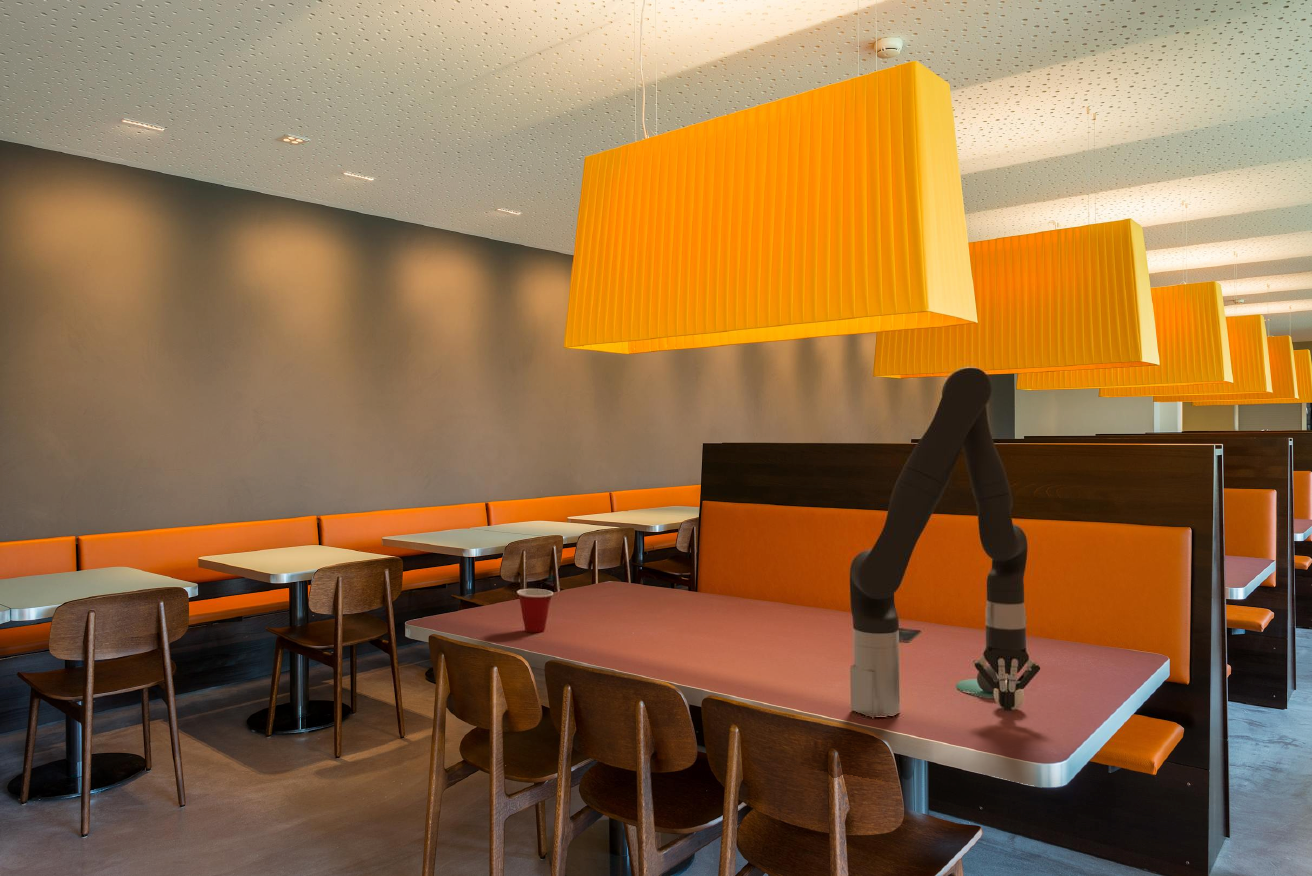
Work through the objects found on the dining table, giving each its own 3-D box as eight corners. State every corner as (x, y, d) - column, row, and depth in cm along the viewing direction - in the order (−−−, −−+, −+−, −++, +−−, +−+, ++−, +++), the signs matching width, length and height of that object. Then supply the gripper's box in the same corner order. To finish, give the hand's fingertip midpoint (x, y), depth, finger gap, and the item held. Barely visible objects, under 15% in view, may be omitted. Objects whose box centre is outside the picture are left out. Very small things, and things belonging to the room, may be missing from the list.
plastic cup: (551, 635, 245) (550, 594, 245) (514, 635, 245) (513, 594, 245) (556, 626, 256) (555, 587, 256) (521, 626, 256) (520, 587, 256)
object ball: (993, 664, 182) (988, 657, 188) (973, 683, 183) (968, 675, 189) (1014, 684, 182) (1008, 676, 188) (994, 703, 182) (989, 695, 188)
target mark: (997, 703, 179) (997, 702, 179) (942, 686, 191) (942, 686, 191) (1036, 691, 187) (1036, 690, 187) (981, 676, 198) (981, 675, 198)
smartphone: (922, 630, 243) (908, 641, 230) (922, 633, 243) (908, 644, 230) (896, 627, 247) (881, 638, 234) (896, 630, 247) (881, 641, 234)
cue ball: (1014, 670, 175) (1010, 686, 179) (989, 680, 175) (985, 695, 179) (1033, 694, 171) (1028, 709, 175) (1007, 704, 170) (1002, 719, 174)
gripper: (1036, 620, 172) (1037, 704, 172) (968, 618, 175) (969, 701, 175) (1045, 628, 165) (1046, 716, 165) (974, 626, 167) (975, 713, 168)
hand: (1006, 708), depth 170 cm, fingers closed
